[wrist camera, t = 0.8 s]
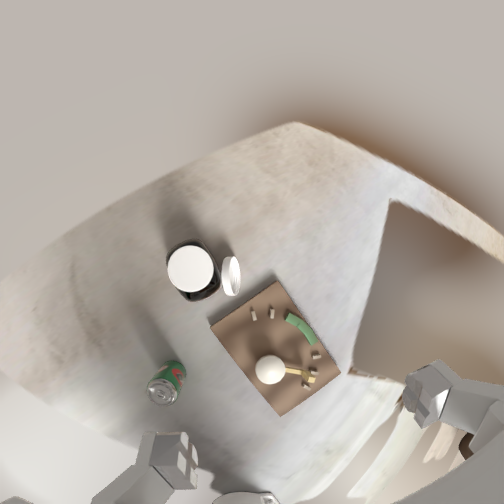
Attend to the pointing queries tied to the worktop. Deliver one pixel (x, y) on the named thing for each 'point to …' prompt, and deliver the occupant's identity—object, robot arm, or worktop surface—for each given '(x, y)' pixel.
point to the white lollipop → (277, 370)
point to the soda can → (166, 383)
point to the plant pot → (466, 446)
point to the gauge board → (276, 346)
